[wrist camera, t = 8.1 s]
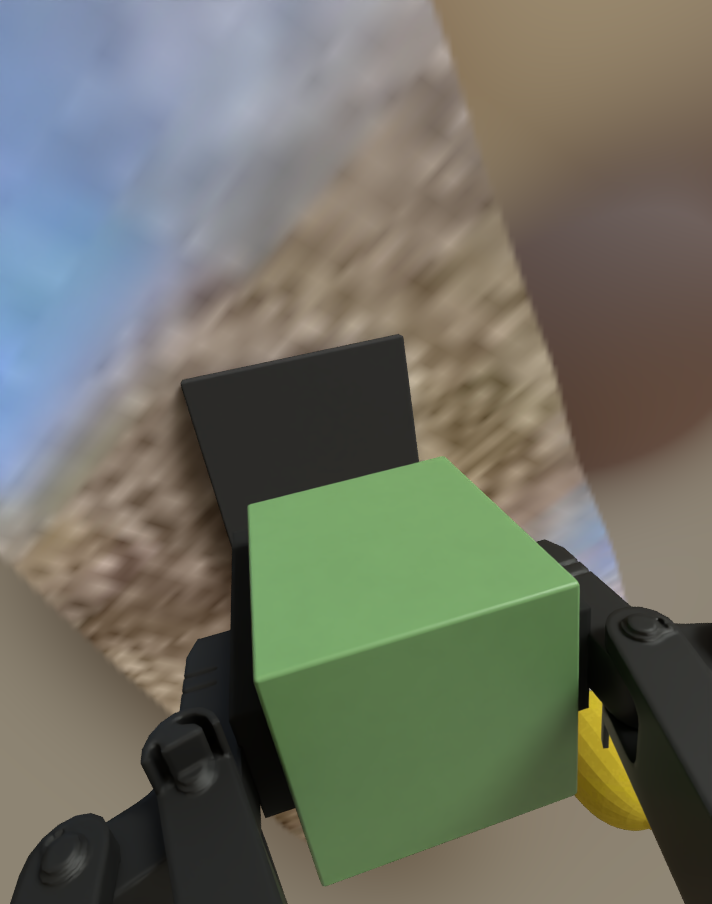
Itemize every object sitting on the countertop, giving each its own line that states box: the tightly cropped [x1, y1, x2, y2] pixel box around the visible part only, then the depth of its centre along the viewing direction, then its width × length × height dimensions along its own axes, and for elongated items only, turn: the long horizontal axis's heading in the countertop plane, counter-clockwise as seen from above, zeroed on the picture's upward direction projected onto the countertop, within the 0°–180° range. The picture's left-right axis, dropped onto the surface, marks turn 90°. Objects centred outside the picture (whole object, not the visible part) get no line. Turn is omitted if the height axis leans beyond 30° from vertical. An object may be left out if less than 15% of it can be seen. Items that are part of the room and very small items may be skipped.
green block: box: [247, 456, 580, 886], centre depth 12 cm, size 6×6×6 cm
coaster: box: [181, 334, 419, 547], centre depth 21 cm, size 9×9×1 cm
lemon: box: [575, 691, 652, 831], centre depth 28 cm, size 6×6×8 cm
